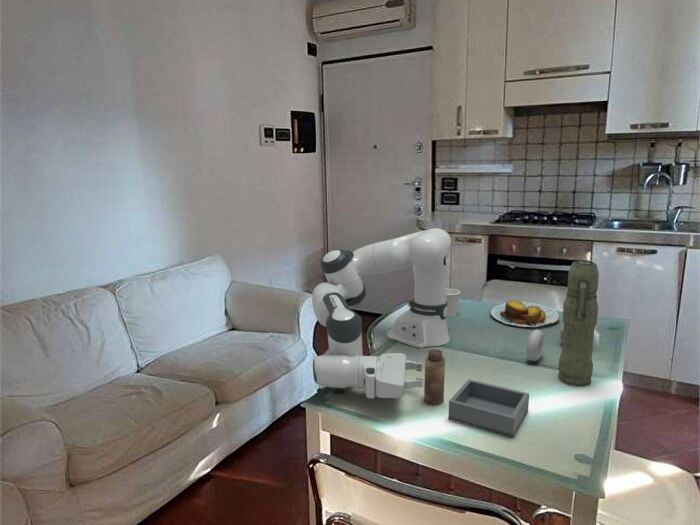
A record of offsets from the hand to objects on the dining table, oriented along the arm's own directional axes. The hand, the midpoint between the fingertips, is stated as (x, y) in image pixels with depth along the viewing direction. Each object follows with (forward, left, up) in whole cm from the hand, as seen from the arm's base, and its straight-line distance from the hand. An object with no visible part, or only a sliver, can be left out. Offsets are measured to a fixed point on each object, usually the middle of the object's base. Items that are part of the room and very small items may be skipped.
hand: (422, 374), depth 132 cm
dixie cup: (-20, +70, -8) cm, 73 cm away
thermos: (+33, +34, -8) cm, 47 cm away
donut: (+20, +42, -8) cm, 47 cm away
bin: (+18, +2, -7) cm, 19 cm away
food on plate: (+7, +80, -8) cm, 81 cm away
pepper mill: (+3, +2, -7) cm, 8 cm away
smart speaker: (+29, +60, -8) cm, 67 cm away
